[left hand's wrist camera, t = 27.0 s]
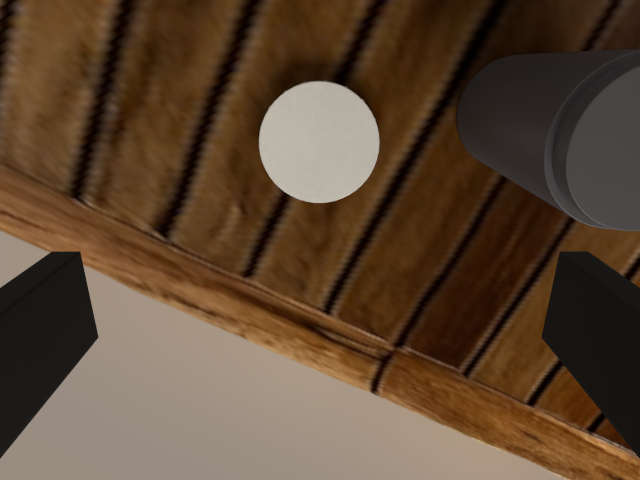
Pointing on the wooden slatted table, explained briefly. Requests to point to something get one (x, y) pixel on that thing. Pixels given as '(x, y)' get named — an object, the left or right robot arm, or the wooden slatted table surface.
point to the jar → (562, 130)
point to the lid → (319, 141)
